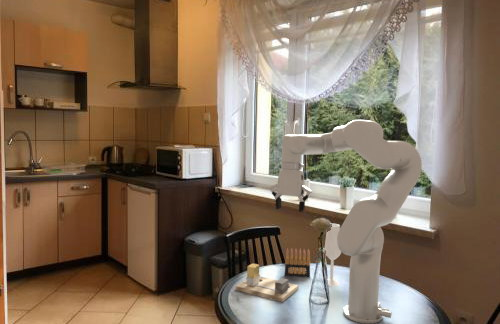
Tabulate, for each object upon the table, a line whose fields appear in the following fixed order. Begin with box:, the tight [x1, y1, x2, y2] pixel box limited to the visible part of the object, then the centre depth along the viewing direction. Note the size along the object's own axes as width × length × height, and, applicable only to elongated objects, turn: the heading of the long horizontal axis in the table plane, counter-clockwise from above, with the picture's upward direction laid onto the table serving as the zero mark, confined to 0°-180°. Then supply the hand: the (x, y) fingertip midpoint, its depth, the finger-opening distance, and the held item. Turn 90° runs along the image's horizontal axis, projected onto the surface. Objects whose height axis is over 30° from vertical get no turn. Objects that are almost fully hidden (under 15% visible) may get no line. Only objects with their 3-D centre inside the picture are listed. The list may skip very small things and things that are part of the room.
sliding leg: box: [245, 263, 262, 286], centre depth 154 cm, size 3×8×7 cm, turn 150°
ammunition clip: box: [284, 247, 311, 278], centre depth 167 cm, size 11×2×12 cm, turn 84°
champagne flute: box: [324, 223, 342, 287], centre depth 159 cm, size 7×7×24 cm
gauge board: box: [235, 276, 299, 303], centre depth 152 cm, size 20×14×6 cm
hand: (289, 210), depth 154 cm, fingers open, 9 cm apart
